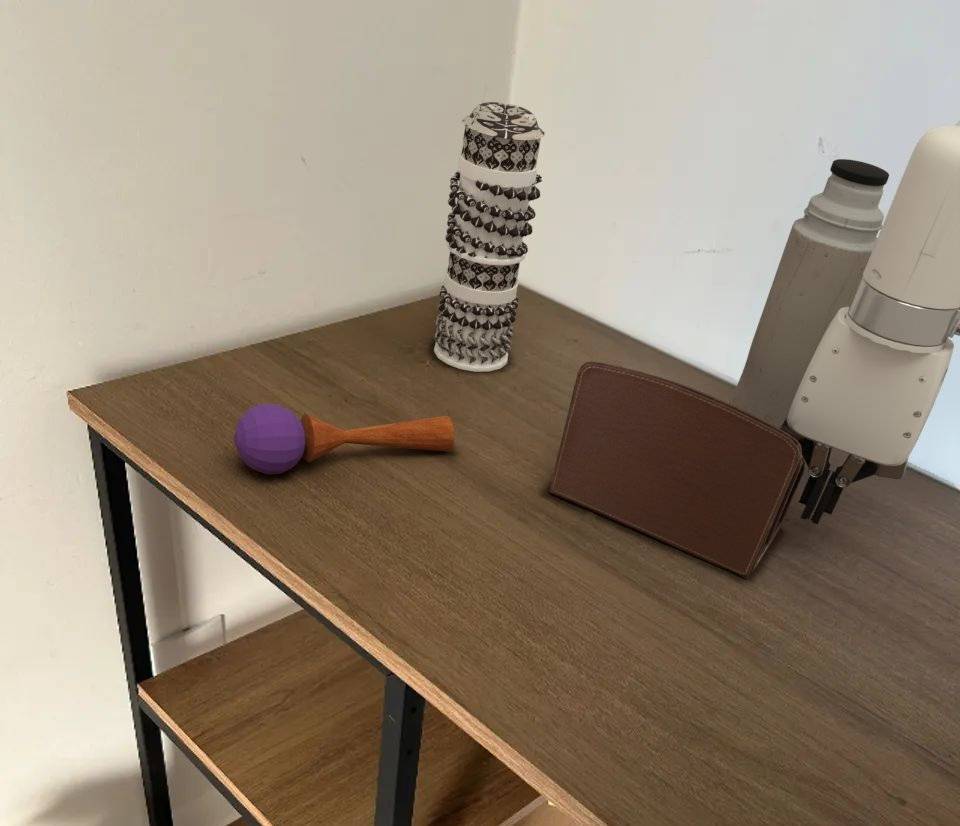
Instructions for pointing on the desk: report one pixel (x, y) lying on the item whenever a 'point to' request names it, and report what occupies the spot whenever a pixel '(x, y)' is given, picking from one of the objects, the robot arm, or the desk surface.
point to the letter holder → (676, 465)
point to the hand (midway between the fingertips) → (812, 514)
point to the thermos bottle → (811, 286)
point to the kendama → (325, 437)
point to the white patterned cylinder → (487, 235)
